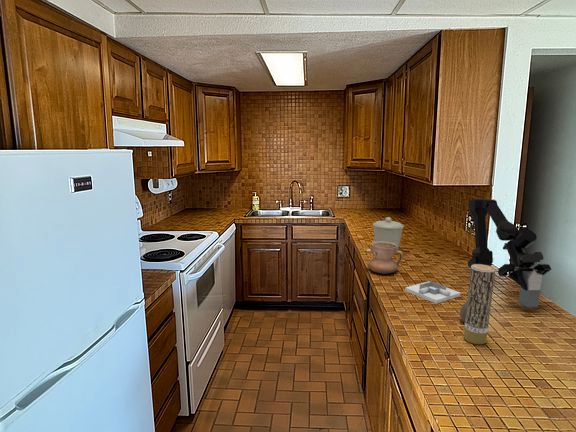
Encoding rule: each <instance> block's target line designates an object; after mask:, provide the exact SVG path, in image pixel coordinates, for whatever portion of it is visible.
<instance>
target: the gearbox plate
mask: <svg viewBox="0 0 576 432" xmlns="http://www.w3.org/2000/svg"><path fill="white" fill-rule="evenodd" d="M404 291H405V292H407V293H409V294H412V295H414V296H417V297H419V298H421V299H424V300H426V301H428V302H431V303H433V304H436V305H437V304H439V303H443V302H445V301H449V300H452V299H455V298H456V299H457V298H459V297H461V293H462V292H461V291H460V292H459V291H457V290H454V289H452V288H449V287H447V286H444V285H442V284H439V283H436V282H433V281H430V280H428V281H425V282H421V283H418V284H413V285H410V286H407V287H405V288H404Z"/></svg>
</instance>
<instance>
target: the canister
mask: <svg viewBox="0 0 576 432" xmlns="http://www.w3.org/2000/svg"><path fill="white" fill-rule="evenodd" d="M372 226H373V242H390V243H394V244H396V245H397V248H396V251H399V247H400V243H401V238H402V233H403V229H404V227H405V226H404V224H403V223H400V222H399V221H393V220H392V218H391V217H389V216H387V217H385V220H378V221H375V222H373V223H372Z"/></svg>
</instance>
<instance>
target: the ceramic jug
mask: <svg viewBox="0 0 576 432" xmlns="http://www.w3.org/2000/svg"><path fill="white" fill-rule="evenodd" d="M396 248H397V245H396V244H394V243H390V242H374V241H373V242H372V243H371V248H367V249H366V252H367V253H371V254H372V255H373V256H374V258H372V259H371V260H369V261H368V262H367V263H366V265H367V267H368V268H369V270H371V271H372V272H374V273H378V274H383V275H384V274H387V275H388V274H392V273H395V272H396V271H398V269H399V266H400V264H401V262H402V260H403V258H404V253H403V252H402V251H401V250H398V251H396ZM397 254H399V259H398V260H397V262H396V261H395V260H393V257H394V256H395V255H397Z"/></svg>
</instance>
